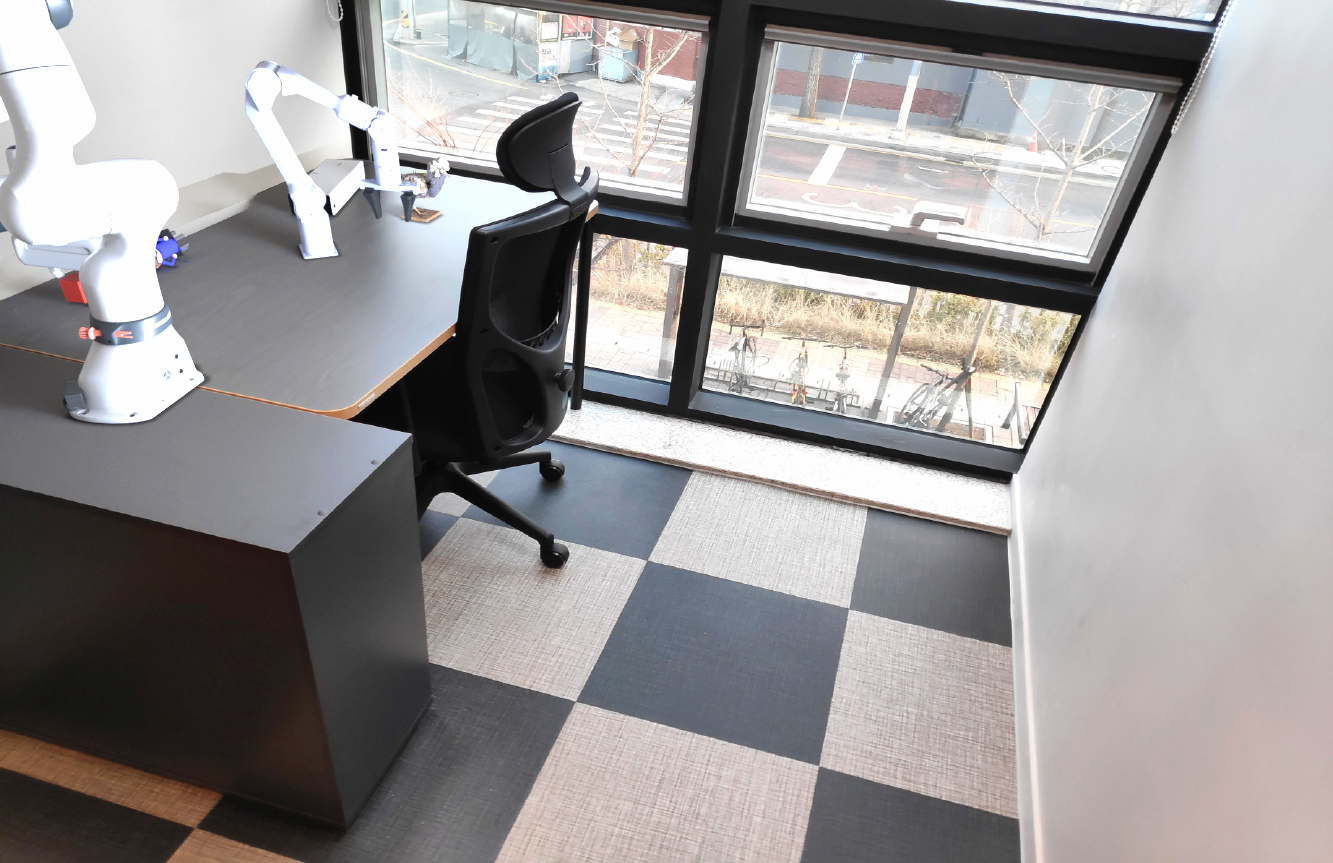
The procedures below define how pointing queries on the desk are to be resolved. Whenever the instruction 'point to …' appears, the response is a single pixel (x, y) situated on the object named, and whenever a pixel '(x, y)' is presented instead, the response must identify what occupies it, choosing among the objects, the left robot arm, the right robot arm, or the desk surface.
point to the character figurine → (168, 248)
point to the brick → (72, 288)
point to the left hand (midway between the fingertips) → (79, 287)
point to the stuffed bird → (428, 187)
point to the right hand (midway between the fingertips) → (393, 219)
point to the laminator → (336, 182)
